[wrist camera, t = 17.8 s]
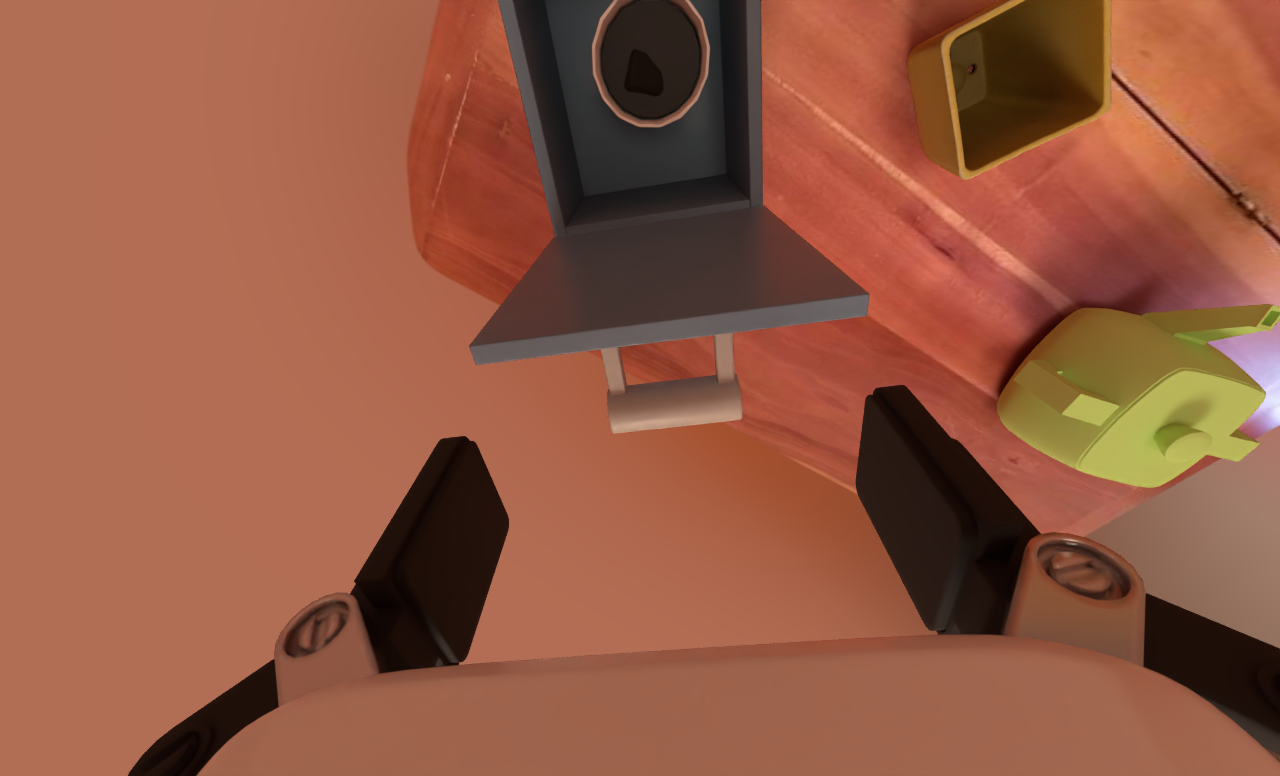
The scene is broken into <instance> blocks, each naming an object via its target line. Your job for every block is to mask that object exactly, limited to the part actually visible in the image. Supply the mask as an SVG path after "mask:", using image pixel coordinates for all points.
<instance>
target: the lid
mask: <svg viewBox="0 0 1280 776" xmlns="http://www.w3.org/2000/svg"><path fill="white" fill-rule="evenodd" d="M868 304H869V293H868V292H867V291H865V290H864V289H863V288H862V287H861V286H859V285H858V284H857V283H856V282H855V281H853V280H852V279H851V278H850V277H849V276H847V275H846V274H845V273H844V272H843V271H841V270H840V269H839V268H838V267H837V266H836V265H834V264H833V263H832V262H831V261H830V260H828V259H827V258H826V257H825V256H824V255H822V254H821V253H820V252H819V251H818V250H816V249H815V248H814V247H813V246H812V245H810V244H809V243H808V242H807V241H806V240H804V239H803V238H802V237H801V236H800V235H798V234H797V233H796V232H795V231H794V230H793V229H791V228H790V227H789V226H788V225H787V224H785V223H784V222H783V221H782V220H781V219H779V218H778V217H777V216H776V215H775V214H773V213H772V212H771V211H770V210H769V209H767V208H766V207H765V206H759V207H752V208H745V209H739V210H732V211H725V212H719V213H712V214H706V215H699V216H692V217H686V218H679V219H672V220H666V221H659V222H652V223H646V224H639V225H632V226H626V227H619V228H612V229H606V230H599V231H592V232H586V233H579V234H573V235H566V236H559V237H554V238H553V239H552V240H551V242H550V243H549V244H548V246H547V247H546V248H545V249H544V251H543V252H542V253H541V255H540V256H539V257H538V258H537V260H536V261H535V262H534V263H533V265H532V266H531V267H530V269H529V270H528V271H527V272H526V274H525V275H524V276H523V278H522V279H521V280H520V281H519V283H518V284H517V285H516V287H515V288H514V289H513V290H512V292H511V293H510V294H509V295H508V297H507V298H506V299H505V301H504V302H503V303H502V304H501V306H500V307H499V308H498V310H497V311H496V312H495V313H494V315H493V316H492V317H491V319H490V320H489V321H488V322H487V324H486V325H485V326H484V328H483V329H482V330H481V331H480V333H479V334H478V335H477V337H476V338H475V339H474V340H473V342H472V343H471V344H470V345H469V348H470V350H471V353H472V355H473V358H474V361H475V364H476V365H481V364H489V363H497V362H505V361H513V360H521V359H529V358H537V357H545V356H553V355H561V354H569V353H576V352H584V351H592V350H600V349H601V354H602V358H603V363H604V368H605V372H606V377H607V382H608V387H609V389H608V392H607V409H608V417H609V422H610V426H611V429H612V431H613V433H623V432H633V431H642V430H651V429H660V428H670V427H679V426H688V425H697V424H706V423H715V422H725V421H734V420H741V419H742V398H741V391H740V385H739V380H738V377H737V375H736V373H735V370H734V351H733V333H735V332H743V331H751V330H759V329H767V328H775V327H783V326H791V325H799V324H807V323H815V322H822V321H830V320H838V319H846V318H854V317H862V316H867V314H868ZM711 335H713V339H714V352H715V365H716V375H713V376H705V377H696V378H688V379H679V380H671V381H662V382H654V383H645V384H637V385H629V386H627V383H626V377H625V372H624V367H623V361H622V356H621V351H620V347H624V346H632V345H640V344H648V343H656V342H664V341H672V340H680V339H688V338H696V337H703V336H711Z"/></svg>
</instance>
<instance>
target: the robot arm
mask: <svg viewBox="0 0 1280 776" xmlns="http://www.w3.org/2000/svg"><path fill="white" fill-rule="evenodd" d="M856 489H857V493H858V496H859V498H860V500H861V502H862V504H863V506H864V507H865V509H866V512H867V514H868V515H869V517H870V519H871V521H872V523H873V525H874V527H875V529H876V531H877V533H878V535H879V537H880V539H881V541H882V543H883V545H884V547H885V548H886V550H887V552H888V554H889V556H890V558H891V560H892V562H893V564H894V566H895V568H896V570H897V572H898V574H899V576H900V577H901V579H902V582H903V584H904V585H905V587H906V589H907V591H908V593H909V595H910V597H911V599H912V601H913V603H914V605H915V607H916V609H917V611H918V612H919V615H920V617H921V619H922V620H923V622H924V624H925V626H926V627H927V628H928V629H929V630H931V631H937V633H938V635H922V636H900V637H878V638H856V639H841V640H840V639H839V640H823V641H806V642H791V643H775V644H774V643H773V644H757V645H742V646H741V645H740V646H725V647H711V648H710V647H709V648H695V649H679V650H663V651H648V652H635V653H619V654H604V655H589V656H577V657H576V656H575V657H562V658H547V659H534V660H520V661H505V662H491V663H479V664H478V663H477V664H467V665H459V662H463V661H464V660H465V659H466V657H467V655H468V653H469V650H470V647H471V643H472V640H473V637H474V634H475V631H476V628H477V625H478V622H479V619H480V616H481V613H482V610H483V606H484V603H485V600H486V597H487V594H488V591H489V588H490V585H491V582H492V579H493V575H494V573H495V569H496V566H497V563H498V560H499V557H500V554H501V551H502V548H503V545H504V542H505V539H506V536H507V532H508V529H509V518H508V515H507V512H506V510H505V508H504V506H503V503H502V501H501V498H500V496H499V494H498V492H497V490H496V487H495V485H494V483H493V480H492V478H491V476H490V473H489V471H488V469H487V467H486V464H485V462H484V460H483V458H482V455H481V453H480V451H479V448H478V446H477V444H476V443H475V442H474V441H470V440H469V439H468V438H467V437H465V436H460V437H451V438H443V439H441V440H440V441H439V442H438V444H437V445H436V447H435V448H434V450H433V452H432V453H431V455H430V457H429V458H428V460H427V462H426V463H425V465H424V466H423V468H422V470H421V471H420V473H419V475H418V476H417V478H416V480H415V482H414V483H413V485H412V486H411V488H410V490H409V491H408V493H407V495H406V496H405V498H404V499H403V501H402V503H401V504H400V506H399V508H398V509H397V511H396V513H395V514H394V516H393V518H392V519H391V521H390V523H389V524H388V526H387V528H386V529H385V531H384V533H383V534H382V536H381V538H380V539H379V541H378V543H377V544H376V546H375V547H374V549H373V551H372V552H371V554H370V556H369V557H368V559H367V561H366V562H365V564H364V566H363V567H362V569H361V571H360V572H359V574H358V576H357V577H356V579H355V580H354V582H355V583H356V585H355V586H354V588H353V590H352V591H351V593H350V594H348V593H334V594H330V595H326V596H324V597H322V598H320V599H318V600H316V601H314V602H312V603H310V604H309V605H308V606H306V607H305V608H303V609H302V610H301V611H300V612H298V613H297V614H296V615H295V616H294V617H293V618H292V619H291V620H290V621H289V622H288V624H287V625H286V626H285V628H284V629H283V630H282V632H281V633H280V635H279V637H278V639H277V641H276V644H275V652H274V659H273V660H271V661H270V662H269V663H267V664H266V665H264V666H263V667H261V668H260V669H258V670H257V671H256V672H254V673H252V674H251V675H250V676H248V677H247V678H245V679H244V680H242V681H241V682H240V683H238V684H237V685H235V686H233V687H232V688H231V689H229V690H228V691H226V692H225V693H223V694H222V695H220V696H219V697H217V698H216V699H215V700H213V701H212V702H210V703H209V704H207V705H206V706H204V707H203V708H201V709H200V710H198V711H197V712H196V713H194V714H193V715H191V716H190V717H188V718H187V719H185V720H184V721H182V722H181V723H180V724H178V725H176V726H175V727H174V728H172V729H171V730H170V731H168V732H167V733H166V734H165V735H163V736H162V737H161V738H159V739H158V740H157V741H156V742H155V743H154V744H153V745H152V746H151V747H150V748H149V749H148V750H147V751H146V752H145V753H144V754H143V755H142V757H141V758H140V759H139V760H138V762H137V763H136V764H135V766H134V767H133V768H132V770H131V771H130V772H129V774H128V776H1280V649H1279V648H1277V647H1274V646H1272V645H1269V644H1267V643H1265V642H1263V641H1260V640H1258V639H1255V638H1253V637H1250V636H1248V635H1246V634H1243V633H1241V632H1238V631H1236V630H1234V629H1231V628H1229V627H1226V626H1224V625H1222V624H1219V623H1217V622H1214V621H1212V620H1209V619H1207V618H1205V617H1202V616H1200V615H1198V614H1195V613H1193V612H1190V611H1188V610H1186V609H1183V608H1181V607H1178V606H1176V605H1174V604H1171V603H1168V602H1166V601H1164V600H1162V599H1159V598H1157V597H1154V596H1152V595H1150V594H1147V593H1146V591H1145V587H1144V583H1143V580H1142V578H1141V577H1140V575H1139V574H1138V572H1137V571H1136V570H1135V568H1134V567H1133V566H1132V565H1131V564H1130V563H1128V562H1127V561H1126V560H1125V559H1124V558H1122V556H1120V555H1119V554H1117V553H1115V552H1114V551H1112V550H1111V549H1109V548H1107V547H1106V546H1104V545H1102V544H1099V543H1097V542H1095V541H1092V540H1090V539H1088V538H1085V537H1081V536H1077V535H1073V534H1069V533H1056V532H1051V533H1045V534H1041V533H1040V532H1039V531H1038V530H1037V529H1036V528H1035V527H1034V525H1033V524H1032V523H1031V522H1030V521H1029V520H1028V519H1027V518H1026V516H1025V515H1024V514H1023V513H1022V512H1021V511H1020V510H1019V508H1018V507H1017V506H1016V505H1015V504H1014V503H1013V502H1012V501H1011V499H1010V498H1009V497H1008V496H1007V495H1006V494H1005V493H1004V491H1003V490H1002V489H1001V488H1000V487H999V486H998V485H997V484H996V482H995V481H994V480H993V479H992V478H991V477H990V476H989V474H988V473H987V472H986V471H985V470H984V469H983V468H982V467H981V465H980V464H979V463H978V462H977V461H976V460H975V459H974V457H973V456H972V455H971V454H970V453H969V452H968V451H967V450H966V448H965V447H964V446H963V445H962V444H961V443H960V442H959V441H957V440H955V439H953V438H950V436H949V435H948V434H947V433H946V432H945V431H944V429H943V428H942V427H941V426H940V425H939V424H938V423H937V421H936V420H935V419H934V418H933V417H932V416H931V414H930V413H929V412H928V411H927V410H926V409H925V408H924V406H923V405H922V404H921V403H920V402H919V401H918V399H917V398H916V397H915V396H914V395H913V394H912V393H911V391H910V390H909V389H908V388H907V387H906V386H905V385H897V386H888V387H879V388H876V389H875V390H874V392H873V395H868V396H867V397H866V400H865V408H864V416H863V424H862V433H861V441H860V449H859V458H858V466H857V474H856Z"/></svg>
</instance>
